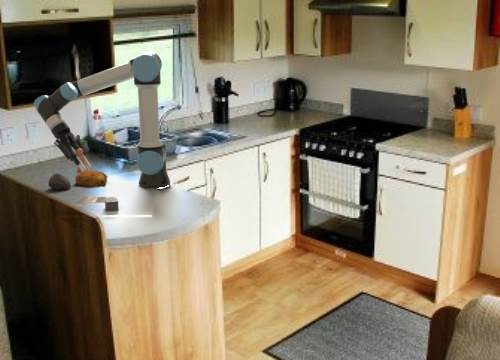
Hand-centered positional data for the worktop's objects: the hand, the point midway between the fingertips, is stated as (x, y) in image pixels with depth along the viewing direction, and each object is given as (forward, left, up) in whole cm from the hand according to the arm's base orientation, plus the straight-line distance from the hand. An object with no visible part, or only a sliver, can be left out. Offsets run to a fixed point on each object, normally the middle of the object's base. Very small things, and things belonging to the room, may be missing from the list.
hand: (86, 169), depth 269 cm
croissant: (+3, -31, -16) cm, 35 cm away
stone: (+17, -23, -16) cm, 33 cm away
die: (-12, +11, -16) cm, 22 cm away
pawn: (+3, -2, -2) cm, 4 cm away
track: (-3, -2, -16) cm, 16 cm away
